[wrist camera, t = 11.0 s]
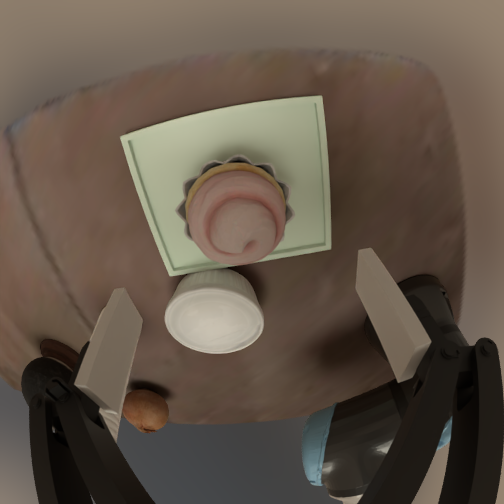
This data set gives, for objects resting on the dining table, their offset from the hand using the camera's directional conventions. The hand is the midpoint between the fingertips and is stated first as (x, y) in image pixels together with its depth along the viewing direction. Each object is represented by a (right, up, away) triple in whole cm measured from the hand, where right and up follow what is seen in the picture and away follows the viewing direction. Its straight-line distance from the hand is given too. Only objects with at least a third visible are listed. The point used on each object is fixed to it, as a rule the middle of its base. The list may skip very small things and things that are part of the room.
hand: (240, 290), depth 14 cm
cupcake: (-1, +8, +11) cm, 13 cm away
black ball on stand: (-37, -19, +27) cm, 50 cm away
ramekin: (-4, -3, +19) cm, 20 cm away
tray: (-1, +8, +11) cm, 14 cm away
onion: (-21, -26, +33) cm, 47 cm away
